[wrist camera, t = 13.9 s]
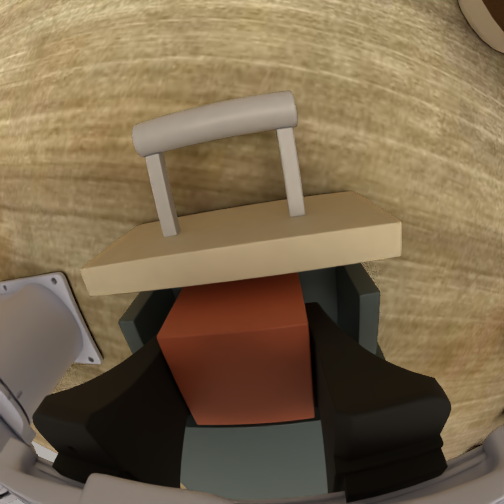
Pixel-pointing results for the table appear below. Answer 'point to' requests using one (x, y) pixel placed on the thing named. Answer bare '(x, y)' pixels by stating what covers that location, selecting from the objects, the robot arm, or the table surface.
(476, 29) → the coffee cup
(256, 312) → the block
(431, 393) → the robot arm
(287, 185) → the drawer
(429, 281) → the table surface
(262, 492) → the cabinet
